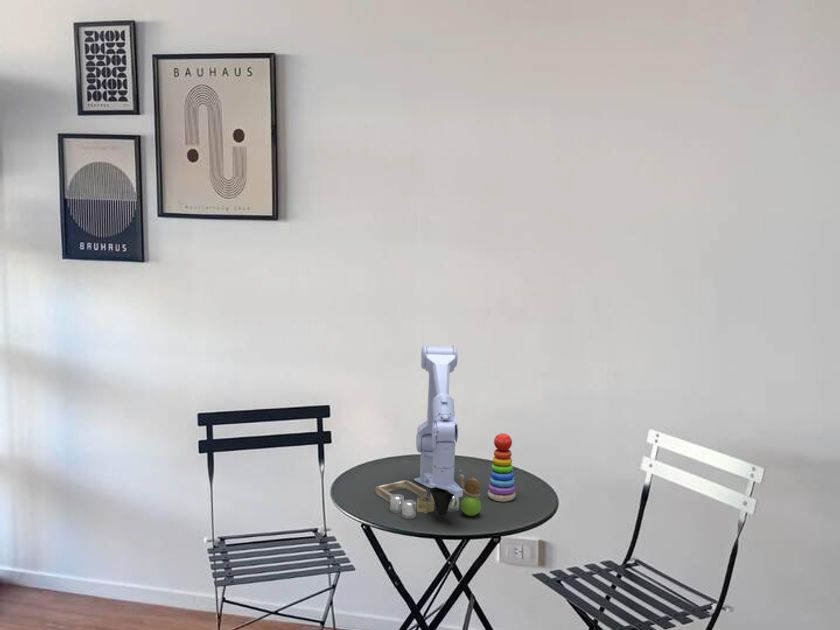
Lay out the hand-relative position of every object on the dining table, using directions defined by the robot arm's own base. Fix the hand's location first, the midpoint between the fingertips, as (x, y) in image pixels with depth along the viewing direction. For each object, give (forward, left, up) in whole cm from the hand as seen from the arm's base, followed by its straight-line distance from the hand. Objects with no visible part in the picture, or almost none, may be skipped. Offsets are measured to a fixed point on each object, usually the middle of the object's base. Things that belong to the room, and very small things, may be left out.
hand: (441, 514), depth 214 cm
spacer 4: (-6, -4, -1) cm, 8 cm away
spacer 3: (-6, -11, -1) cm, 13 cm away
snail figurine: (-8, +2, -1) cm, 8 cm away
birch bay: (0, -19, -1) cm, 19 cm away
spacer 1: (+7, -11, -1) cm, 13 cm away
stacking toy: (-24, -3, -1) cm, 24 cm away
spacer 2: (+7, -6, -1) cm, 9 cm away
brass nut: (0, -7, -1) cm, 8 cm away
